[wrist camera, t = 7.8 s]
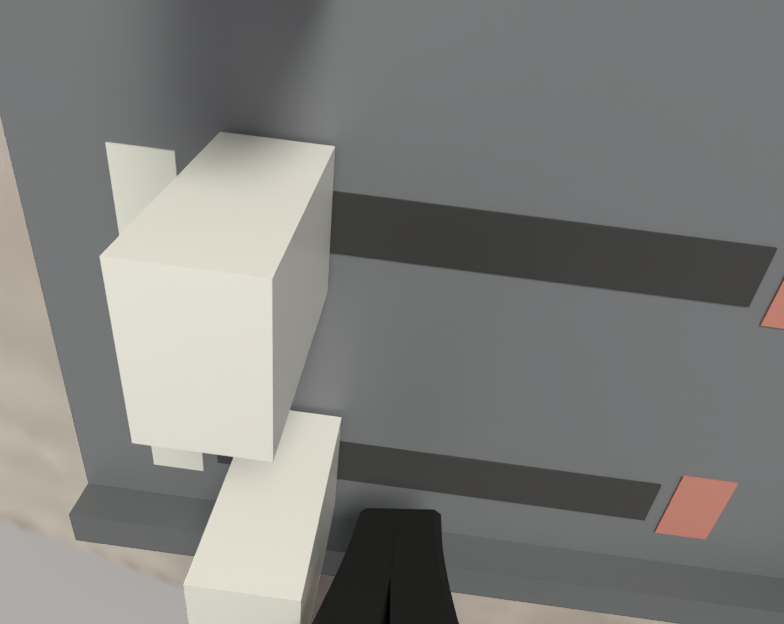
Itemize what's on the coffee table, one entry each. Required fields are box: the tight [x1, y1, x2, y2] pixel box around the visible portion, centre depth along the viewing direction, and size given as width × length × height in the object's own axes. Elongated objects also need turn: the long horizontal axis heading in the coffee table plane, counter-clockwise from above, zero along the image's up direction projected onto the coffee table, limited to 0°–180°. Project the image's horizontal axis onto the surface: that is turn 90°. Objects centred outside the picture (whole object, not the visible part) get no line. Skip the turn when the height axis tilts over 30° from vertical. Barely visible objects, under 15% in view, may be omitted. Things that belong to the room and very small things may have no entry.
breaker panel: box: [0, 0, 784, 624], centre depth 10 cm, size 16×15×2 cm
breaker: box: [99, 132, 335, 462], centre depth 8 cm, size 2×2×4 cm
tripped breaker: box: [183, 410, 342, 624], centre depth 11 cm, size 2×2×4 cm
